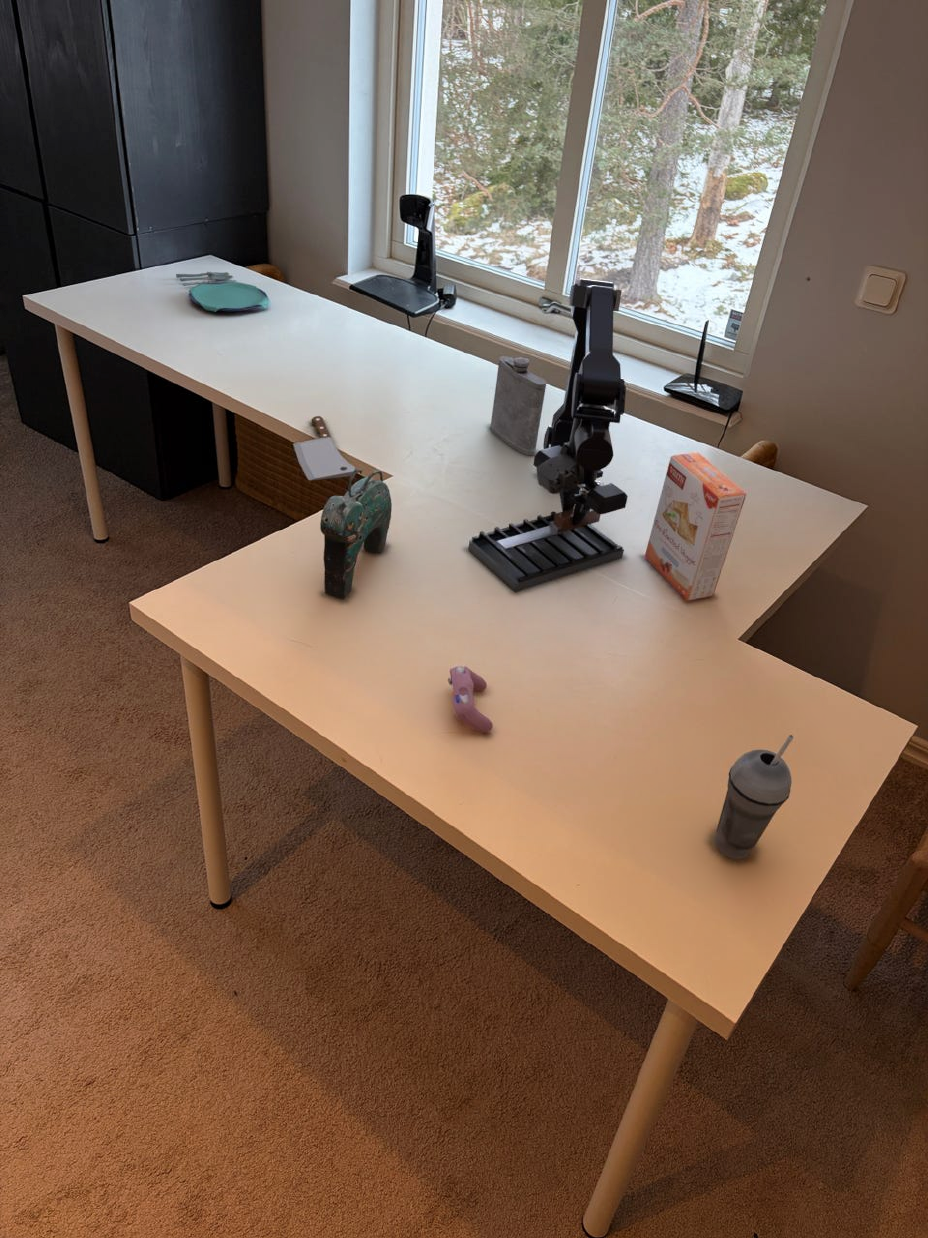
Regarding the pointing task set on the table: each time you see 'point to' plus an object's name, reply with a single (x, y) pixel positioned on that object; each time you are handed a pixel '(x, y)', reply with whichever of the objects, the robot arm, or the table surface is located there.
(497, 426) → the flask
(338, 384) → the table surface
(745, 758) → the beverage cup
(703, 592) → the cracker box
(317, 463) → the kitchen cleaver
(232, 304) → the cutlery set
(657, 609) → the table surface
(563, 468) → the robot arm
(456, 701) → the video game controller
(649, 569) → the table surface
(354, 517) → the elephant figurine
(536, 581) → the dish rack
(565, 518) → the knife
